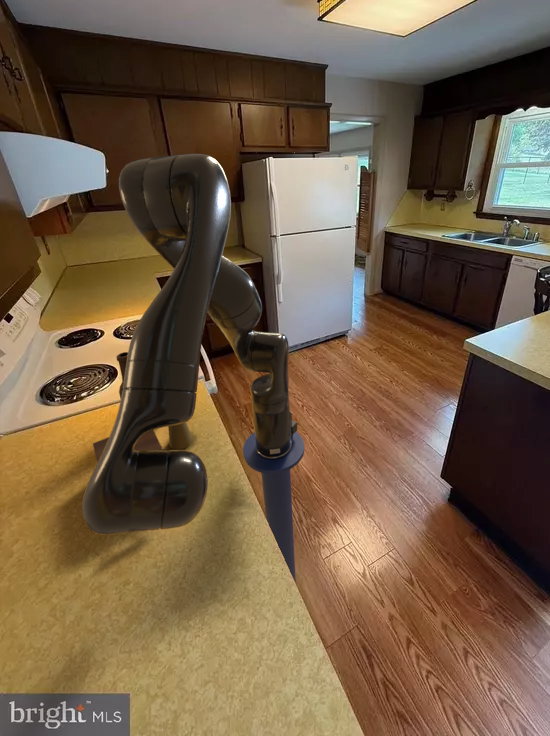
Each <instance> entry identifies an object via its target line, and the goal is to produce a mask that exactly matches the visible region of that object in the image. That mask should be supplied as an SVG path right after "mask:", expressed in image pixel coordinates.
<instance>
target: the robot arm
mask: <svg viewBox="0 0 550 736" xmlns="http://www.w3.org/2000/svg"><path fill="white" fill-rule="evenodd" d="M118 188H119V195H120V199H121V201H122V205H123V207H124V210H125V212H126V213H127V216H128V218H129V219H130V222H131V223H132V224H133V225H134V227H135V228H136V230H137V231H138V233H139V234H140V235H141V236H142V238H143V239H144V240H145V241H146V242H147V243H148V244H149V246H151V247H152V248H153V249H154V251H156V252H157V254H159V256H161V258H162V259H163V260H164V261H166V263H167V264H168V265H169V266H170V267H171V269H173V270H172V273H171V274H170V276H169V278H168V279H167V281H166V282H165V284H164V285H163V286H162V288H161V289H160V291H159V292H158V294H157V295H156V296H155V298H154V299H153V300H152V302H151V303H150V304H149V306H148V307H147V308H146V310H145V311H144V313H143V314H142V316H141V318H140V319H139V321H138V323H137V324H136V327H135V329H134V332H133V334H132V335H131V340H130V342H129V347H128V350H127V352H128V356H127V363H126V370H125V376H124V383H123V389H124V390H122V396H121V399H120V402H119V406H118V410H117V414H116V417H115V421H114V424H113V426H112V429H111V432H110V434H109V436H108V437H109V439H108V441H107V444H106V446H105V448H104V450H103V452H102V455H101V457H100V459H99V461H98V463H97V462H96V464H95V467H94V469H93V471H92V473H91V475H90V478H89V480H88V482H87V484H86V487H85V489H84V493H83V496H82V500H81V501H82V503H81V513H82V518H83V520H84V521H85V524H86V526H87V527H88V529H89V530H90V531H91V532H93V533H94V534H96V535H98V536H99V535H100V536H113V535H122V534H123V535H124V534H128V533H129V534H130V533H140V532H148V531H149V532H150V531H159V530H167V529H168V530H169V529H176V528H180V527H183V526H186V525H188V524H190V523H191V522H192V521H193V520H194V519H195V518H196V517H197V516H198V515H199V513H200V512H201V510H202V508H203V506H204V504H205V501H206V497H207V493H208V486H209V485H208V483H209V482H208V472H207V469H206V466H205V464H204V462H203V460H202V459H201V458H200V456H199V455H198V454H196V452H192V451H189V450H184V449H182V450H174V449H169V450H164V449H163V450H159V451H135V450H134V447H135V445H136V443H137V441H138V440H139V438H140V437H141V436H142V435H144V434H145V433H147V432H149V431H151V430H154V431H155V430H157V429H162V428H166V427H167V428H168V426H173V425H179V424H182V423H185V422H186V423H187V422H190V420H191V419H192V418H193V416H194V414H195V410H196V406H197V405H196V403H197V392H198V386H199V385H198V384H199V373H200V362H201V352H202V345H203V336H204V331H205V327H206V321H207V316H208V315H209V317H210V318H211V320H212V321H213V322H214V323H215V324H216V326H218V328H219V329H220V331H221V332H222V334H223V335H224V336H225V338H226V339H227V341H228V343H229V344H230V346H231V349H232V350H233V351H234V354H235V356H236V358H237V360H238V362H239V363H240V365H241V366H242V367H243V369H245V370H247V371H249V372H257V373H266V374H263V375H259V377H257V378H255V379H254V380H253V381H252V382H251V384H250V387H249V389H250V391H249V392H250V399H251V409H252V417H253V418H252V419H253V427H254V428H253V429H254V432H255V438H256V450H257V453H258V454H259V455H260V456H261V457H263V458H265V459H269V460H276V459H280V458H282V457H284V456H286V455H287V454H288V453H289V452H290V450H291V446H292V445H291V442H292V441H293V434H294V433H295V432H297V431H298V421H295V420H294V419H293V414H292V412H291V410H290V409H291V408H290V390H289V389H290V388H289V387H290V386H289V384H290V383H289V382H290V381H289V380H290V379H289V378H290V376H289V373H290V372H289V362H290V361H289V360H290V357H289V356H290V347H289V346H290V345H289V340H288V339H289V338H288V337H287V335H286V334H284V333H281V332H268V331H257V330H254V329H255V328H256V326H257V325H258V323H259V321H260V319H261V316H262V312H263V304H262V300H261V298H260V295H259V292H258V289H257V288H256V286H255V283H254V281H253V280H252V278H251V277H250V275H249V274H248V273H247V272H246V271H245V270H244V269H243V268H242V267H240V266H239V265H237V264H236V263H235V262H234V261H232V260H230V259H229V258H227V257H226V256H224V250H225V246H226V242H227V237H228V232H229V228H230V222H231V216H232V215H231V214H232V200H231V199H232V198H231V197H232V196H231V190H230V186H229V182H228V179H227V176H226V174H225V171H224V169H223V167H222V166H221V164H220V163H219V162H218V160H216V158H214V157H213V156H211V155H210V154H205V153H184V154H173V155H164V156H163V155H162V156H154V157H145V158H141V159H140V158H139V159H136V160H133V161H130V162H128V163H126V164H125V165H124V167H122V169H121V171H120V173H119V177H118Z"/></svg>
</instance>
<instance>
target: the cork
mask: <svg viewBox="0 0 550 736" xmlns="http://www.w3.org/2000/svg"><path fill="white" fill-rule="evenodd" d="M167 428H168V440H169V441H168V443H169V447H170V448H171V450H184V449H187V448H188V447H190V446H191V445H192V443H193V441H194V438H193V436H192V434H191V431H190V429H189V426H188V424H187V422H185V423H182V424H179V425H173V426H168V427H167Z"/></svg>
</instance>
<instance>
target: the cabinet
mask: <svg viewBox="0 0 550 736" xmlns="http://www.w3.org/2000/svg"><path fill="white" fill-rule="evenodd" d="M109 437H110V436H108V437H106V438H103V439H101V440H98V441H95V442H93V443H92V445H93V446H92V447H93V449H94V455H95V460H96V464H97V463H98V461H99V459H100V457H101V455H102V452H103V450H104V448H105V446H106V444H107V441H108V439H109ZM134 450H135V451H159V450H164V449H163V447H162V445H161V442H160V441H159V438H158V437H157V435H156V432H155V429H154V430H151V431H149V432H147V433H145V434H144V435H142V436H141V437H140V438H139V440H138V441H137V443H136V445H135V447H134Z"/></svg>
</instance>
